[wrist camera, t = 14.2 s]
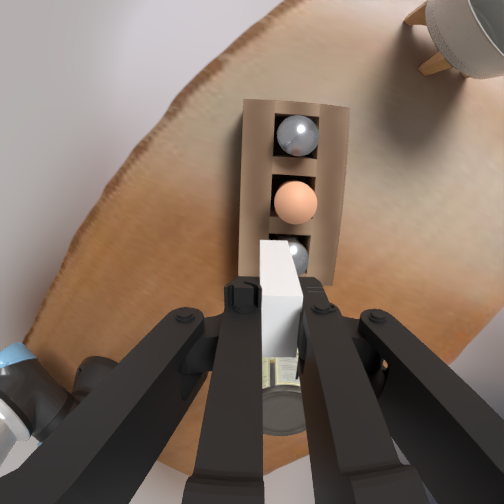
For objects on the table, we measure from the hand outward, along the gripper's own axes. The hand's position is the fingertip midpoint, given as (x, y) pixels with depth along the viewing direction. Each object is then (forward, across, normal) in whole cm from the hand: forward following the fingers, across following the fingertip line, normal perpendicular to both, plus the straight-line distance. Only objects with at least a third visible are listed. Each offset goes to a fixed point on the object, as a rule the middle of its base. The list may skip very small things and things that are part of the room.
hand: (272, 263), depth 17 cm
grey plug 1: (+24, +3, +8) cm, 26 cm away
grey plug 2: (+24, +3, -6) cm, 25 cm away
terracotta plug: (+22, +3, +1) cm, 23 cm away
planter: (+24, +26, +26) cm, 44 cm away
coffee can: (+26, +4, -26) cm, 37 cm away
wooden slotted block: (+25, +3, +1) cm, 25 cm away
